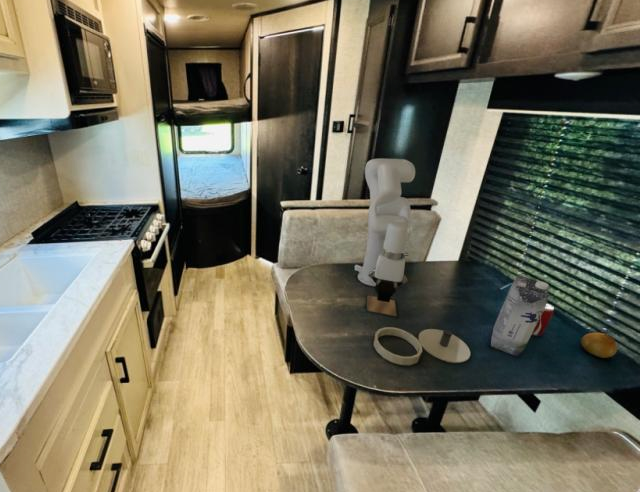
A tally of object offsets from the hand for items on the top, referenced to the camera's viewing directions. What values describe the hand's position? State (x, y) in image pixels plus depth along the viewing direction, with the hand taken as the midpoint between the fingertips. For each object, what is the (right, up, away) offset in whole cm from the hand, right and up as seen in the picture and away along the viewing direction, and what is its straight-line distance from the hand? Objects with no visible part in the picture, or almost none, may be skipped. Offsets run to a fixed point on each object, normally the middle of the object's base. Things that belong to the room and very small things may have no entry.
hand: (384, 292), depth 127 cm
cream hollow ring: (-5, -17, -18) cm, 25 cm away
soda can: (+50, -13, -11) cm, 53 cm away
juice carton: (+34, -16, -17) cm, 42 cm away
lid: (+12, -15, -18) cm, 27 cm away
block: (0, -3, +1) cm, 3 cm away
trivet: (0, -6, +3) cm, 7 cm away
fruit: (+63, -17, -20) cm, 68 cm away
